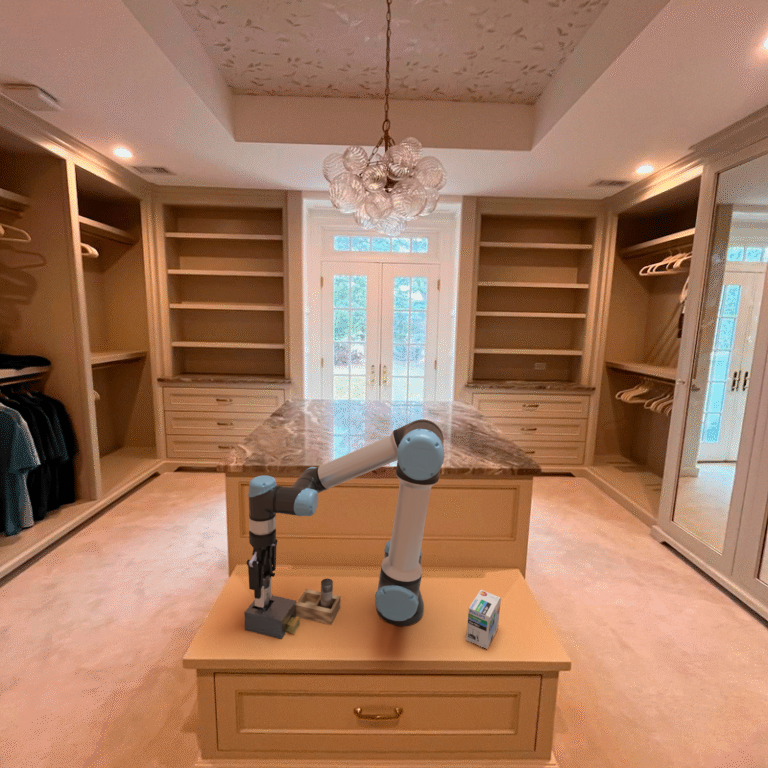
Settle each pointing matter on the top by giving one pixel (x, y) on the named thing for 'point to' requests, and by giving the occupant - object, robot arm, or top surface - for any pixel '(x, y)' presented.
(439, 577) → the top surface
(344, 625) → the top surface
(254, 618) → the socket block
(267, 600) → the grey peg
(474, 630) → the light bulb box
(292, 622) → the yellow rectangular block
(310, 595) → the rack
